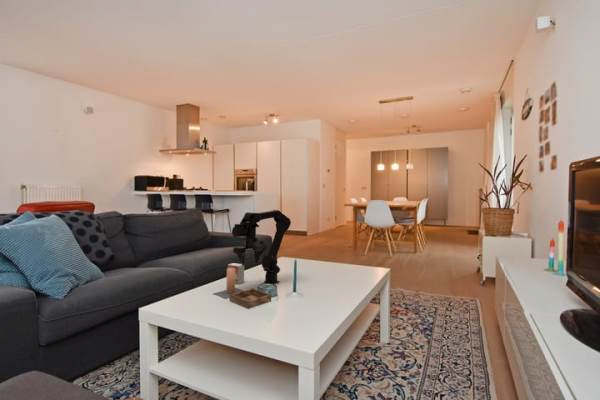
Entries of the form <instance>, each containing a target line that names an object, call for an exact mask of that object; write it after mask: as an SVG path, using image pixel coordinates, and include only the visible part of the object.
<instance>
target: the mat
mask: <svg viewBox="0 0 600 400" xmlns="http://www.w3.org/2000/svg"><path fill="white" fill-rule="evenodd" d="M241 291H244V290H242V289H239V288H237V287H235V293H237V292H241ZM212 295H215V296H217V297H219V298H221V299H224V300H227V299H230V294H227V289H225V290H222V291H221V290H220V291H218V292H213V293H212Z"/></svg>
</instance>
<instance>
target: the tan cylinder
mask: <svg viewBox="0 0 600 400" xmlns="http://www.w3.org/2000/svg"><path fill="white" fill-rule="evenodd" d="M235 288H236V284H235V268H228V267H227V268H226V290H227V294H234V293H235Z"/></svg>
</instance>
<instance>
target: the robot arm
mask: <svg viewBox="0 0 600 400" xmlns="http://www.w3.org/2000/svg"><path fill="white" fill-rule="evenodd" d="M267 219H268V220H269V219H273V221H274V222H275V228H276V231H275V234H274V235H273V239H272V243H271V245H270V248H269V250H268V253H267V254H265V255H263V258H262V260H261V267H262V269H263V271H264V272H265V280H264V281H263V282H264V283H266V284H268V283H273V284H278V283H280V280H278V274H279V273H280V272H281V267H279V265H278V253H279V251H280V247H281V244H282V241H283V238H284V235H285V233H286V232H287V231H288V230H289V229H290V227H291V225H292V221H291V218H289V217H288V216H286V215H285V214H284V213H282V212H281V211H280V210H278V209H273V210H269V211H261V212H250V211H249V212H245V213H244V216H242V219H241V220H240V223H234V225H233V227H232V230H231V234H232V236H233V237H234V238H241V237H243V240H244V244H243V246H234V247H233V249H232V253H234V254H235V255H237V258H238V259H239V261H240V264H242V266H244V267H245V256H246V255H247V253H246V252H248V251H254V252H253V253H254V261H255V264H258V262H259V261H260V257H261V255H262V253H264V252H265V251H266V250H267V245H266V241H265V240H261V241H259V238H258V237H257V228H260V225H259V224H258V223H260V222H261V221H263V220H267ZM273 284H272V285H273Z"/></svg>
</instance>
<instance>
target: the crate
mask: <svg viewBox="0 0 600 400" xmlns="http://www.w3.org/2000/svg"><path fill="white" fill-rule="evenodd" d="M229 302H231V303H234V304H236V305H238V306H241V307H243V308H246V309H247V310H249V309H251V308H255V307H257V306H261V305H264V304H267V303H270V302H272V294H270V293H268V292H264V291H261V290H259V289H255V288H249V289H245V290H243V291H241V292H237V293H234V294H230V298H229Z"/></svg>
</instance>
